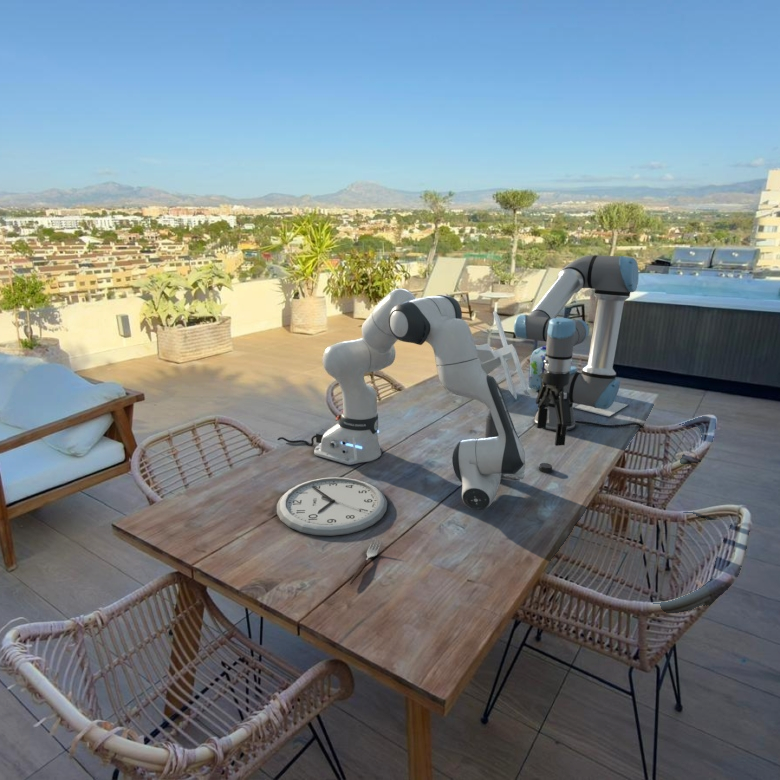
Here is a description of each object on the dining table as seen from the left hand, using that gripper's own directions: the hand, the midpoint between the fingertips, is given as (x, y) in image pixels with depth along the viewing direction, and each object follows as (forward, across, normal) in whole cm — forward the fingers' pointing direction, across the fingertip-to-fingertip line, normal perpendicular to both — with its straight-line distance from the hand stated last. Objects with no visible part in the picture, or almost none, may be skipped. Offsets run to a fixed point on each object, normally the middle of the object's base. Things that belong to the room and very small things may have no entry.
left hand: (493, 455), depth 161 cm
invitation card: (+82, -35, +6) cm, 89 cm away
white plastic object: (+83, +18, +6) cm, 85 cm away
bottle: (-1, 0, +6) cm, 6 cm away
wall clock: (-35, +38, +6) cm, 52 cm away
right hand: (+10, -16, -5) cm, 19 cm away
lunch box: (+103, -12, +6) cm, 104 cm away
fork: (-57, +20, +6) cm, 60 cm away
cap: (+9, -16, +5) cm, 19 cm away
